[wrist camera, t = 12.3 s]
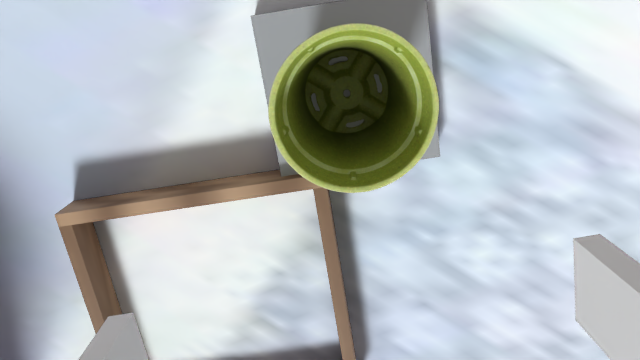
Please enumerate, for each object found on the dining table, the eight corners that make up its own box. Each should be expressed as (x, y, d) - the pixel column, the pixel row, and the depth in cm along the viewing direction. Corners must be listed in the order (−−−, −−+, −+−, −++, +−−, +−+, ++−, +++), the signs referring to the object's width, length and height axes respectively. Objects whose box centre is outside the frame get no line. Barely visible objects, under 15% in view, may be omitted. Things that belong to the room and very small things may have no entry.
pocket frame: (140, 404, 47) (129, 429, 44) (73, 200, 41) (54, 214, 38) (358, 376, 46) (361, 399, 43) (324, 162, 40) (324, 174, 37)
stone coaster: (283, 172, 40) (282, 180, 38) (254, 15, 36) (250, 16, 34) (434, 149, 39) (440, 156, 37) (419, -12, 36) (425, -14, 34)
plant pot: (261, 48, 35) (243, 57, 27) (391, 3, 34) (414, -2, 26) (304, 170, 38) (300, 212, 29) (426, 131, 37) (457, 164, 28)
